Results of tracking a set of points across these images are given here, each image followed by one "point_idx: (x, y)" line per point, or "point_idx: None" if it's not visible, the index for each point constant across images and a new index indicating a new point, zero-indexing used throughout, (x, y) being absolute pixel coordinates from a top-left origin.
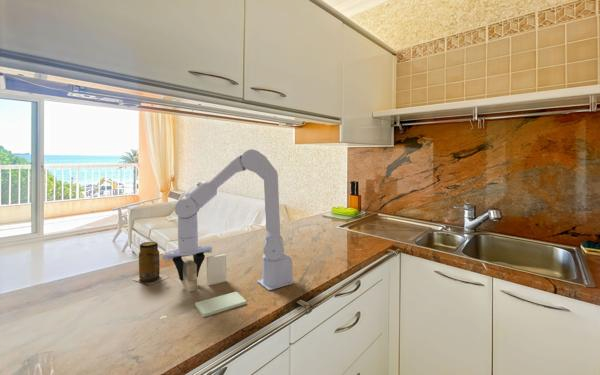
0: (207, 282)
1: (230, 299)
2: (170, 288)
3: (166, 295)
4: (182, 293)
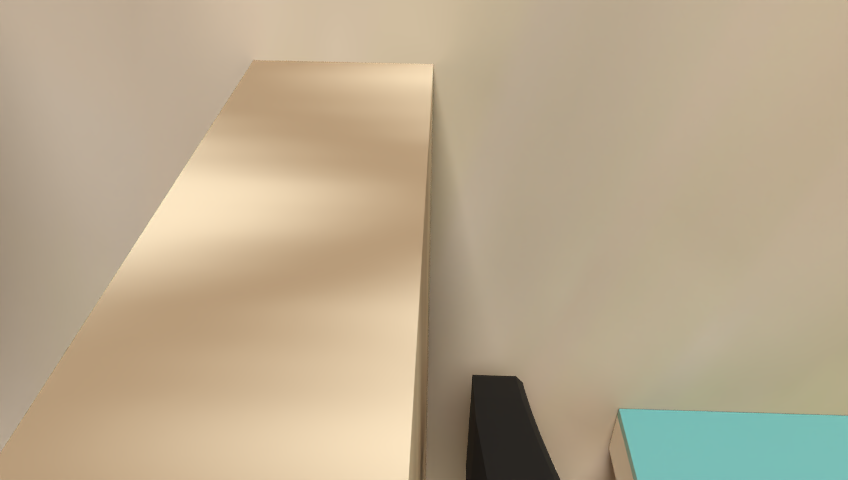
0: (621, 459)
1: None
2: (49, 261)
3: (18, 420)
4: None
